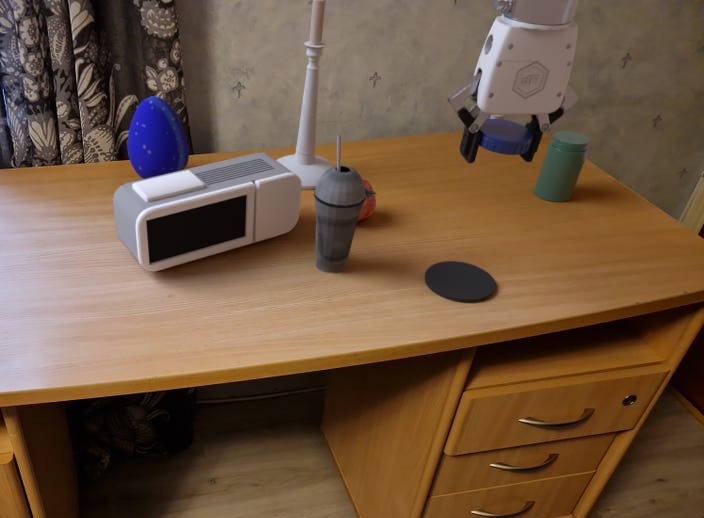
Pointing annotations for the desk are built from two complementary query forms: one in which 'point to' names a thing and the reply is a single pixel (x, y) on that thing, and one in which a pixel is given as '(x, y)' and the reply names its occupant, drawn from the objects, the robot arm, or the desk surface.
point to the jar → (561, 166)
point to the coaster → (460, 281)
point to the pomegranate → (367, 201)
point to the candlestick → (310, 111)
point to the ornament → (156, 140)
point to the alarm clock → (206, 210)
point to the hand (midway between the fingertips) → (495, 157)
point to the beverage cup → (337, 214)
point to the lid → (505, 137)
